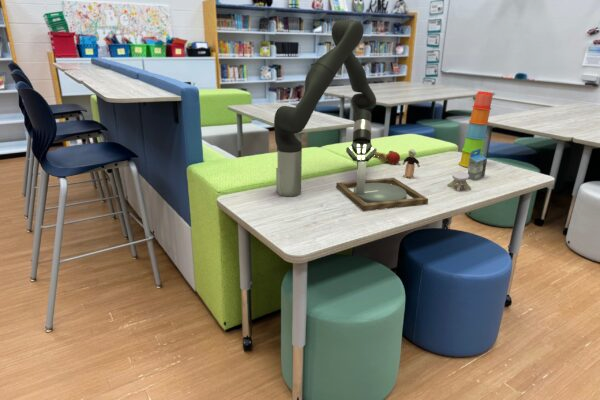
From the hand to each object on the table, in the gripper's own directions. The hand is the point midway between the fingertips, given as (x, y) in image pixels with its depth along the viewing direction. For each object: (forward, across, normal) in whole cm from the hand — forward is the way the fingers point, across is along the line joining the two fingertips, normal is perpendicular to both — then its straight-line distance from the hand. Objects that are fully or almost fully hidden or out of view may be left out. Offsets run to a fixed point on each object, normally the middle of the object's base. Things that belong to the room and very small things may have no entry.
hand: (360, 169), depth 172 cm
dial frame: (+12, +8, -1) cm, 14 cm away
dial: (+12, +8, -1) cm, 14 cm away
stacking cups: (-23, +53, +33) cm, 66 cm away
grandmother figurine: (-6, +22, +16) cm, 28 cm away
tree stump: (+2, +41, +9) cm, 42 cm away
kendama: (-24, +12, +35) cm, 44 cm away
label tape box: (-9, +51, +19) cm, 55 cm away
